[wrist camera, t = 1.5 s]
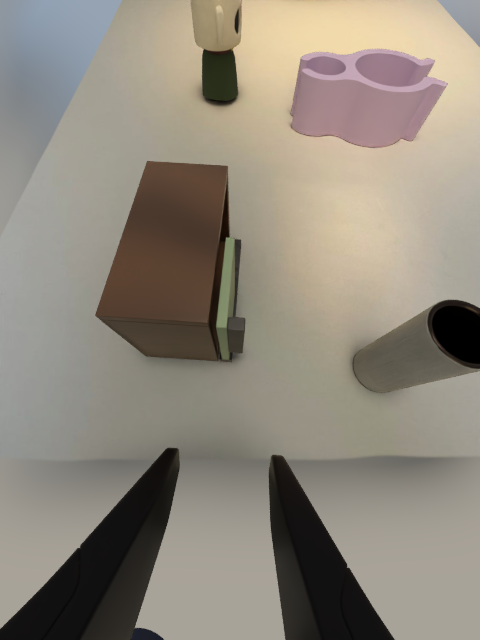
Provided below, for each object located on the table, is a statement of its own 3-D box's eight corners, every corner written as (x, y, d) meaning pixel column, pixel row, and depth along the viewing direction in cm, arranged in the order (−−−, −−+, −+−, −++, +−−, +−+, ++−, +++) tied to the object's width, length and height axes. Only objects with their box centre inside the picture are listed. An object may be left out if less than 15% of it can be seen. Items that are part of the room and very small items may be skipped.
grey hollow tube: (403, 393, 23) (520, 371, 14) (356, 391, 23) (440, 367, 14) (393, 348, 25) (489, 300, 15) (349, 346, 25) (419, 297, 15)
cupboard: (232, 362, 24) (230, 324, 15) (145, 356, 24) (94, 315, 15) (241, 242, 30) (243, 166, 21) (172, 238, 30) (146, 160, 21)
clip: (292, 142, 39) (303, 86, 32) (290, 100, 44) (299, 44, 37) (417, 149, 38) (454, 95, 32) (401, 106, 43) (429, 51, 37)
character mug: (244, 112, 42) (248, -13, 30) (203, 114, 41) (190, -12, 29) (236, 80, 46) (236, -41, 34) (198, 82, 46) (185, -40, 34)
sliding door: (241, 360, 23) (244, 329, 16) (222, 359, 23) (215, 327, 16) (245, 292, 26) (250, 238, 19) (228, 291, 26) (225, 237, 19)
